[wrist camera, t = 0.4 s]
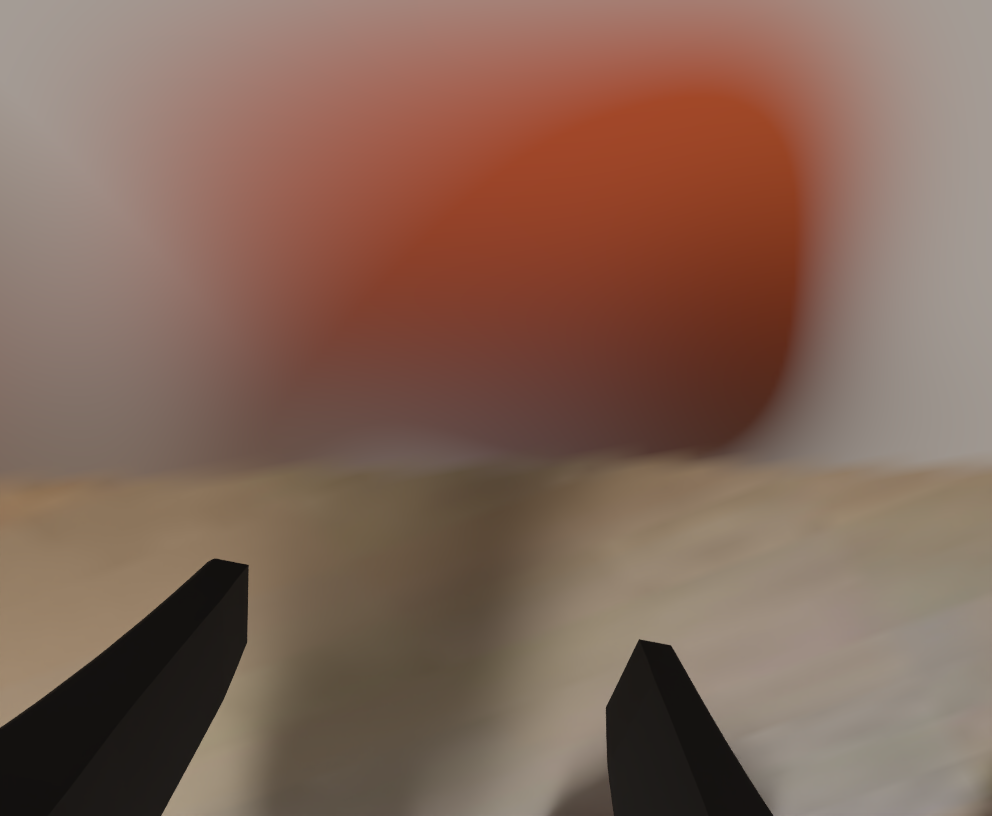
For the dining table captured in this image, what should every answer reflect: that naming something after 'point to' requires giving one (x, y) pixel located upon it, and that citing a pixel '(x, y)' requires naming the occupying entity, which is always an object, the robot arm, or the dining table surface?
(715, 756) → the robot arm
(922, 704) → the dining table surface
